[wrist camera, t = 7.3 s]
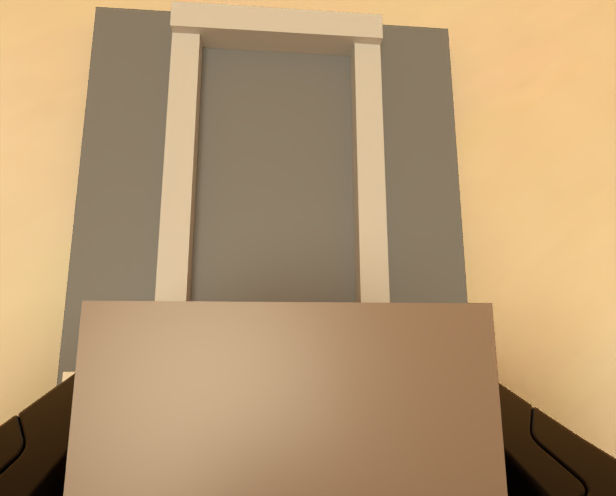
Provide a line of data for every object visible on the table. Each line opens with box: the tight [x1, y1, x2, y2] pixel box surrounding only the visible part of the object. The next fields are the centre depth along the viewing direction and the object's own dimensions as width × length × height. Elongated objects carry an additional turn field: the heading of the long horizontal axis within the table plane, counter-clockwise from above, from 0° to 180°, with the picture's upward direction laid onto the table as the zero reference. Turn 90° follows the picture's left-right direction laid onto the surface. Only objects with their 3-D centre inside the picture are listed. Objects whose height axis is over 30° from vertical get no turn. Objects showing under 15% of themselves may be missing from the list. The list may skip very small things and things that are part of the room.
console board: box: [57, 1, 467, 386], centre depth 16 cm, size 24×14×2 cm, turn 0°
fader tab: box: [63, 301, 508, 496], centre depth 10 cm, size 3×5×11 cm
